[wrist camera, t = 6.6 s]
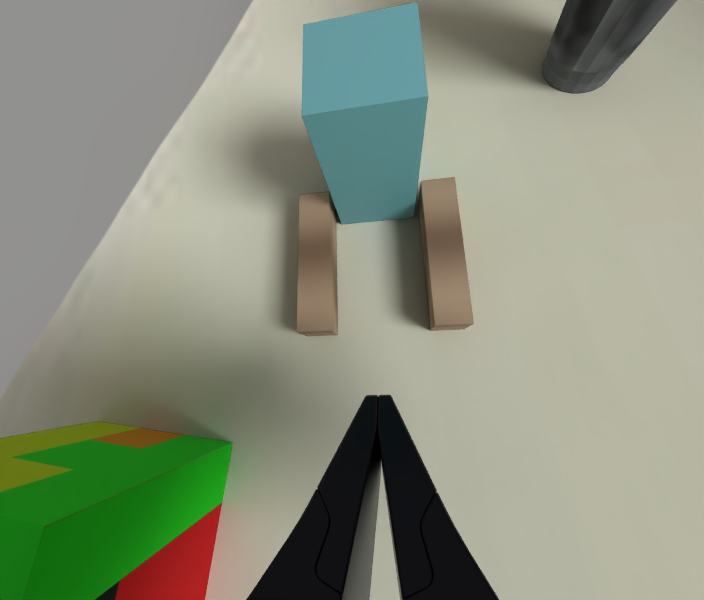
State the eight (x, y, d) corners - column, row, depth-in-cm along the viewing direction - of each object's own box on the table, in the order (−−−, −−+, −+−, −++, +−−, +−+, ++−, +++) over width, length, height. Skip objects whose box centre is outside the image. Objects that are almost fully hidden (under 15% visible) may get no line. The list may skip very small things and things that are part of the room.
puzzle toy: (50, 596, 17) (-379, 878, 8) (99, 421, 20) (-187, 470, 10) (198, 639, 16) (-115, 1066, 6) (233, 442, 18) (44, 526, 8)
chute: (464, 329, 17) (473, 323, 15) (307, 336, 19) (296, 331, 17) (448, 197, 20) (454, 177, 17) (309, 212, 21) (299, 194, 19)
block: (413, 217, 20) (427, 96, 11) (341, 224, 20) (301, 115, 12) (408, 155, 21) (417, 2, 12) (340, 163, 21) (303, 24, 13)
